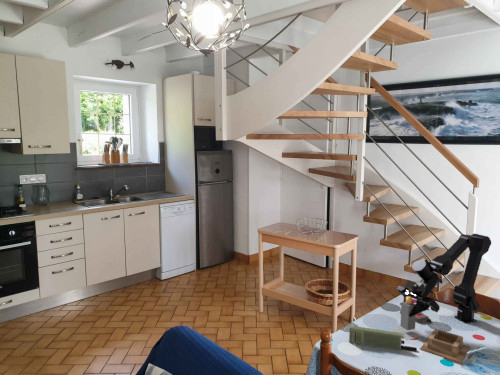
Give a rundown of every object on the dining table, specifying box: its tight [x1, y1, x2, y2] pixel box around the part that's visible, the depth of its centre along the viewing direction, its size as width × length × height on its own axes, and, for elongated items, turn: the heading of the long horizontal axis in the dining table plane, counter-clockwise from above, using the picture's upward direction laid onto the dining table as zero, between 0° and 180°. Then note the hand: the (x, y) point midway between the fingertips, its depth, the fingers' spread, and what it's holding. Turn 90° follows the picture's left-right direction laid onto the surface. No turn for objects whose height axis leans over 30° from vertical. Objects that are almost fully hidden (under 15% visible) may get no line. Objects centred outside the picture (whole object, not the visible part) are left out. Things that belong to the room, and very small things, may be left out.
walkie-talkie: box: [399, 302, 432, 324], centre depth 178 cm, size 9×4×20 cm
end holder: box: [419, 328, 470, 365], centre depth 147 cm, size 14×14×5 cm
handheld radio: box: [348, 325, 418, 352], centre depth 150 cm, size 7×3×25 cm
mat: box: [389, 326, 427, 341], centre depth 160 cm, size 10×10×1 cm
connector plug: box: [400, 296, 416, 330], centre depth 159 cm, size 4×4×13 cm
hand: (405, 314), depth 159 cm, fingers closed on connector plug, 4 cm apart
